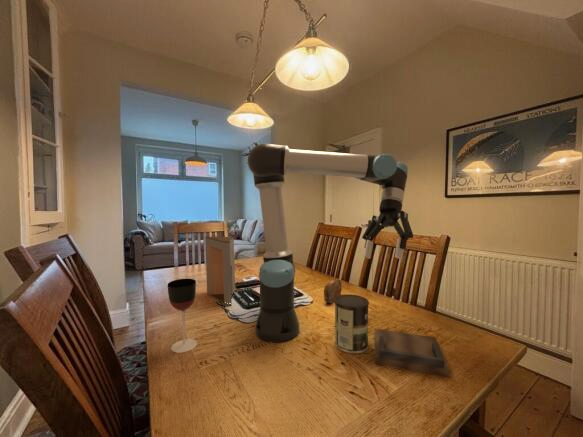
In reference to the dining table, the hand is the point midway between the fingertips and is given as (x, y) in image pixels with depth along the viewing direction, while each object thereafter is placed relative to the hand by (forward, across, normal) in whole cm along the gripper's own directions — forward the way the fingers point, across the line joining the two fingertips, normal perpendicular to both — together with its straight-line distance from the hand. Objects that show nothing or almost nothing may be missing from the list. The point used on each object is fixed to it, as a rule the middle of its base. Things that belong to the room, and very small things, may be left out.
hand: (381, 258), depth 88 cm
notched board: (+27, -10, -6) cm, 29 cm away
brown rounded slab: (+17, +32, -10) cm, 38 cm away
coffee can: (+29, +2, +4) cm, 30 cm away
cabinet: (+29, +60, +29) cm, 73 cm away
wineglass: (+44, +28, +48) cm, 70 cm away
